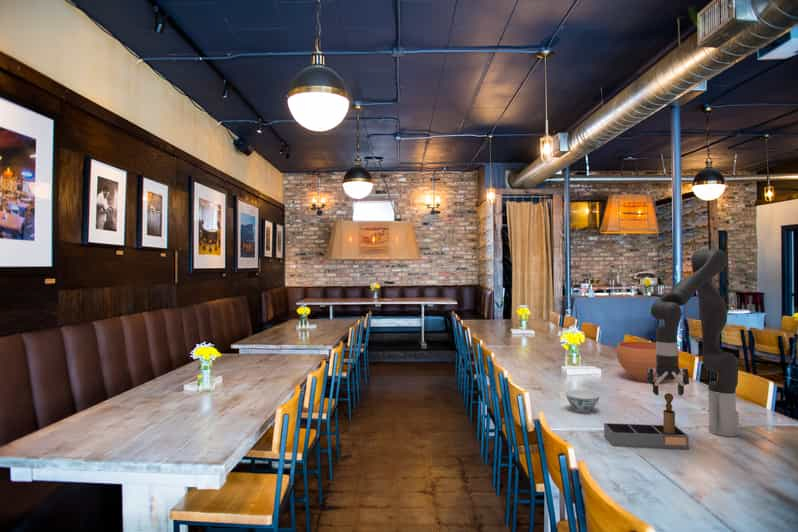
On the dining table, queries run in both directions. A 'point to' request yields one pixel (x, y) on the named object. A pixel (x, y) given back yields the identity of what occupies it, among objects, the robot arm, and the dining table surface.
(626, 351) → the bowl
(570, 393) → the chinaware
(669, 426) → the brown turned rounded post
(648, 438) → the rack
